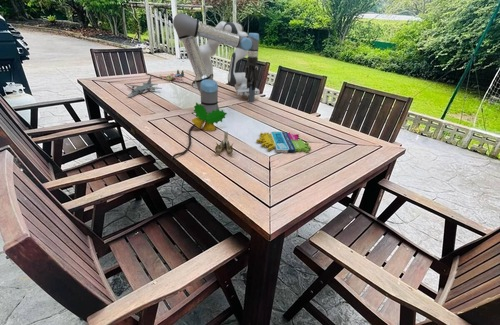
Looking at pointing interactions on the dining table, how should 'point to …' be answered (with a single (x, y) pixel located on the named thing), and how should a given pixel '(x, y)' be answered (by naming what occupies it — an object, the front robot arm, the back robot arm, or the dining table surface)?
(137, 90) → the airplane
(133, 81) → the dining table surface
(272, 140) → the packaged colorful gloves
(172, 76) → the toy
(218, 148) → the jawbone
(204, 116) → the ornament
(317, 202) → the dining table surface
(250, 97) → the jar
